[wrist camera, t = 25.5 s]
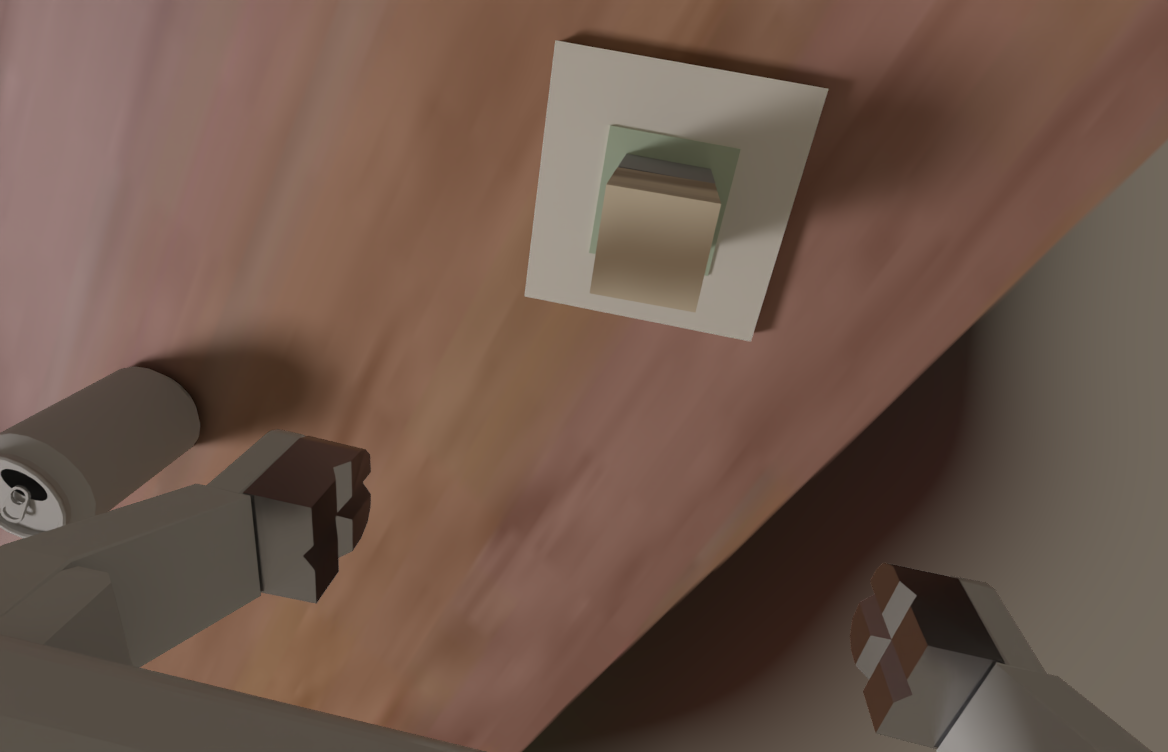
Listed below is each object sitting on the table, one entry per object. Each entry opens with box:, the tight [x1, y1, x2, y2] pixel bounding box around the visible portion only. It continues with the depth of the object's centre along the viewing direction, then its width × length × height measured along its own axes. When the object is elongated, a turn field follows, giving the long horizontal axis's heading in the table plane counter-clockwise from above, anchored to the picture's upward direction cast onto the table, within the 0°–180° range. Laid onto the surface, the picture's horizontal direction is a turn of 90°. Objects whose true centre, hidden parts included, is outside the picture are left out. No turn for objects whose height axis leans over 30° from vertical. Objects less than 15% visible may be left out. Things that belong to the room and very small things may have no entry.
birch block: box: [590, 167, 721, 313], centre depth 28 cm, size 5×5×5 cm
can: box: [0, 366, 200, 538], centre depth 42 cm, size 8×8×12 cm
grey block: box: [618, 154, 715, 183], centre depth 32 cm, size 5×5×5 cm
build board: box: [525, 40, 828, 341], centre depth 35 cm, size 14×14×1 cm
